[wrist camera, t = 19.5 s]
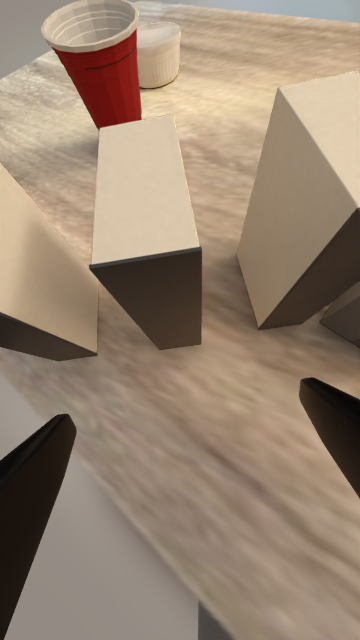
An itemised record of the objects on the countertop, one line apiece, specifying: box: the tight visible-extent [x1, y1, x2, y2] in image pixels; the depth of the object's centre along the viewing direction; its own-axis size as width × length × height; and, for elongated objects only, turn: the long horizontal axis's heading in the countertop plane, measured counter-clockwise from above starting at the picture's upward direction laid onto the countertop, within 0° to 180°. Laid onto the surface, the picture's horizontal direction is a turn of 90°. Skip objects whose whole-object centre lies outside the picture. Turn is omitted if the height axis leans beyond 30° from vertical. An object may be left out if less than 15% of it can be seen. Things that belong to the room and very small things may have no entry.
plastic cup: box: [41, 0, 142, 130], centre depth 27 cm, size 11×11×12 cm
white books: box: [0, 71, 360, 361], centre depth 15 cm, size 9×24×13 cm, turn 97°
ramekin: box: [137, 22, 181, 88], centre depth 37 cm, size 11×11×5 cm
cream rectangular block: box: [89, 114, 202, 350], centre depth 15 cm, size 9×4×13 cm, turn 7°
